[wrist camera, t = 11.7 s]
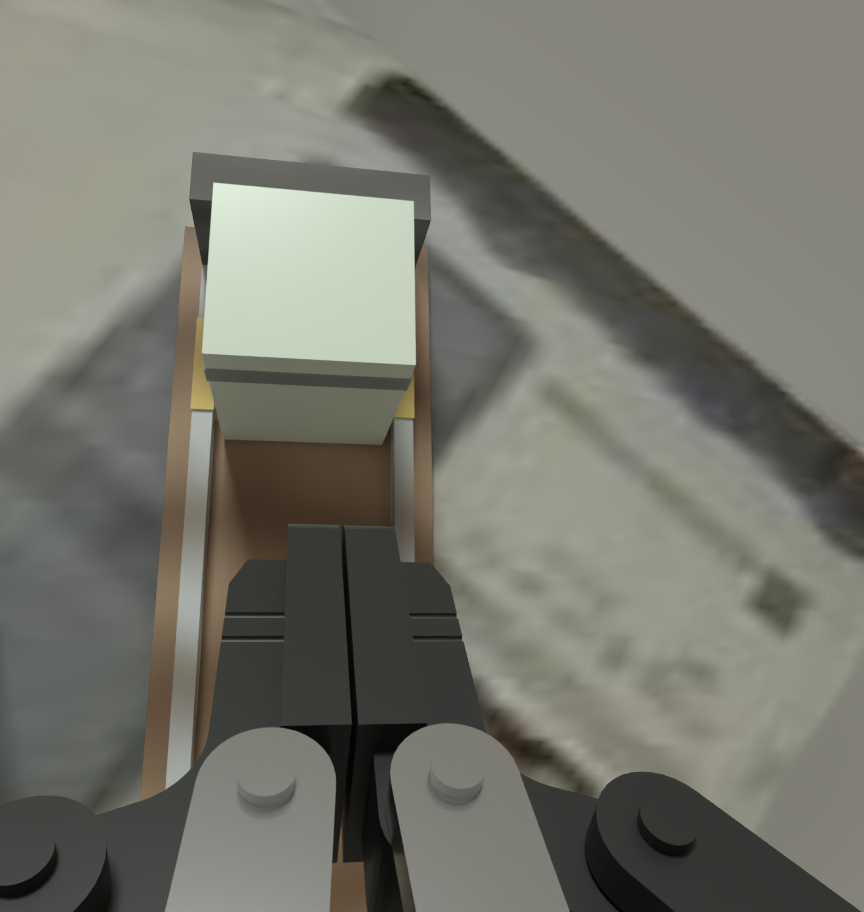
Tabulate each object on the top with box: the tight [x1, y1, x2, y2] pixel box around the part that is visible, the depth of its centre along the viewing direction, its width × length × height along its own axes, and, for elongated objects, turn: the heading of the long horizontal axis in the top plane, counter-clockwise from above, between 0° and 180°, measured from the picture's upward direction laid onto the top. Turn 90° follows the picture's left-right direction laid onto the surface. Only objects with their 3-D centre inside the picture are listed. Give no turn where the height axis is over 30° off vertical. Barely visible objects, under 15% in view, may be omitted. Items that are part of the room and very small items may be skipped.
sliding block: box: [202, 183, 416, 445], centre depth 29 cm, size 6×7×9 cm
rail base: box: [140, 152, 434, 912], centre depth 29 cm, size 28×11×7 cm, turn 1°
